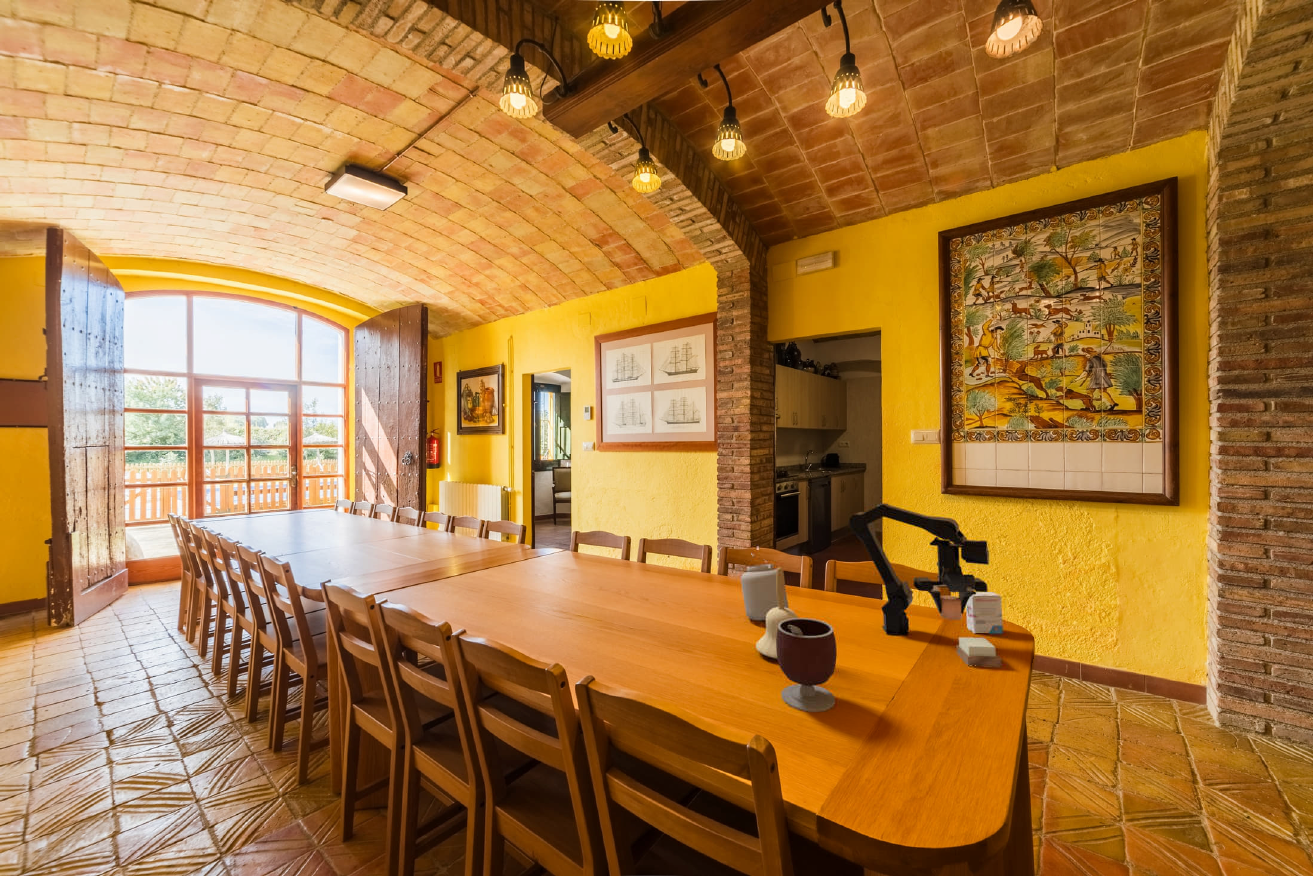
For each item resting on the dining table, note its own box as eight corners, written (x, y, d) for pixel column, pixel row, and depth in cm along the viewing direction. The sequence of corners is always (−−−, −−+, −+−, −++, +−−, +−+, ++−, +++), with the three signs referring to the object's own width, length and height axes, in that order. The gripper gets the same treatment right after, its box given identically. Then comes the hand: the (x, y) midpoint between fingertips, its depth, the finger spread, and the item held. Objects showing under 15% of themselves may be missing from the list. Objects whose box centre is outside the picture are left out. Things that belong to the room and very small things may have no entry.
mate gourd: (793, 680, 133) (790, 602, 134) (847, 695, 125) (843, 612, 125) (764, 704, 121) (761, 619, 122) (822, 723, 113) (818, 631, 113)
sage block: (969, 655, 139) (968, 646, 139) (959, 646, 145) (958, 637, 145) (995, 656, 138) (995, 647, 138) (984, 647, 144) (984, 638, 144)
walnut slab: (968, 668, 138) (967, 656, 138) (956, 655, 146) (956, 645, 146) (1001, 669, 137) (1000, 658, 137) (988, 657, 144) (987, 646, 144)
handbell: (766, 640, 161) (763, 559, 161) (815, 648, 153) (812, 564, 153) (748, 658, 148) (745, 570, 148) (801, 669, 140) (798, 576, 140)
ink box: (994, 628, 164) (993, 591, 164) (1003, 634, 159) (1002, 595, 159) (966, 628, 165) (964, 591, 165) (974, 634, 160) (972, 595, 160)
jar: (730, 614, 186) (727, 545, 186) (762, 607, 193) (760, 540, 193) (764, 630, 169) (761, 554, 169) (798, 622, 176) (795, 548, 176)
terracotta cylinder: (944, 619, 153) (943, 600, 153) (937, 613, 158) (937, 595, 158) (964, 620, 152) (963, 601, 152) (957, 614, 157) (956, 595, 157)
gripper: (923, 567, 149) (926, 621, 149) (995, 567, 145) (997, 623, 145) (912, 558, 160) (914, 609, 160) (978, 558, 156) (980, 610, 156)
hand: (950, 613), depth 155 cm, fingers closed on terracotta cylinder, 5 cm apart
